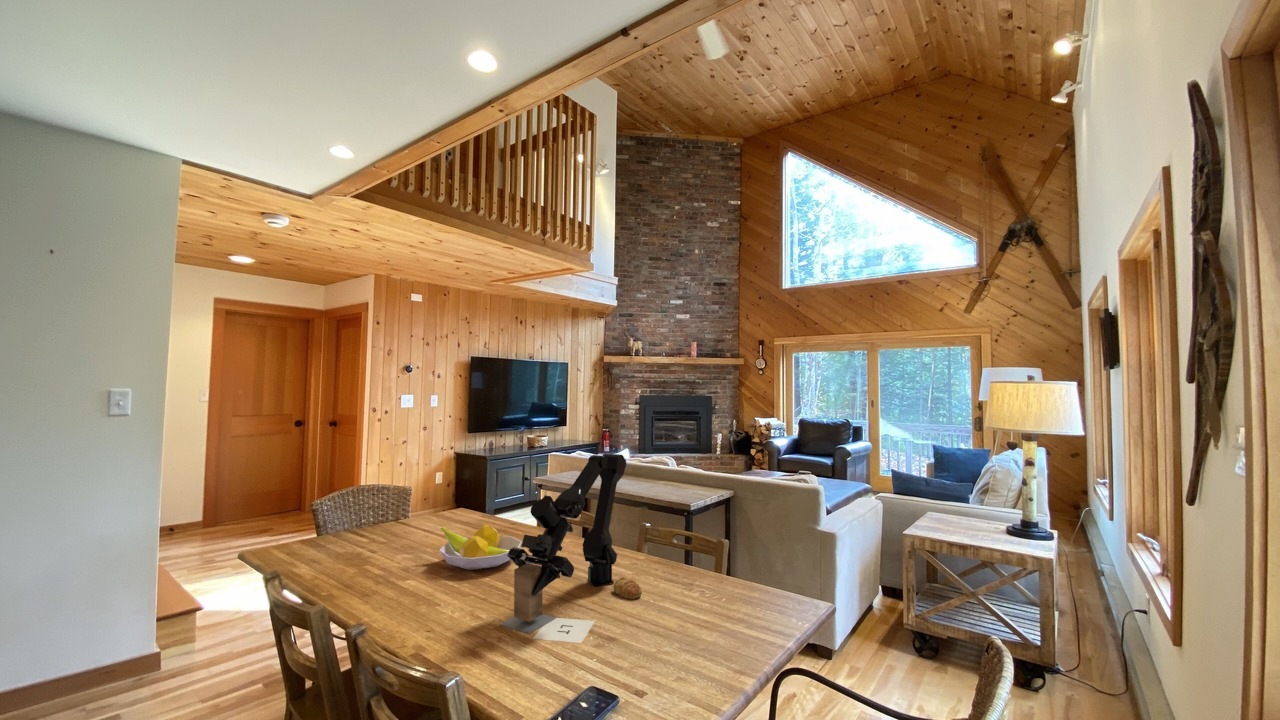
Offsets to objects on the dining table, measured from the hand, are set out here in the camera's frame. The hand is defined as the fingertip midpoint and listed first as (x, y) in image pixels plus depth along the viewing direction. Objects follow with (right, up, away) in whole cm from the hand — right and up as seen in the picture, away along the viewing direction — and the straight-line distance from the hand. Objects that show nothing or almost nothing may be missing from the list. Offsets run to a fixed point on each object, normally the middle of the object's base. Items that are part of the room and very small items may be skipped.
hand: (524, 592), depth 137 cm
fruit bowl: (-26, -11, +48) cm, 56 cm away
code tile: (+11, -8, -4) cm, 14 cm away
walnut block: (+1, -6, +1) cm, 6 cm away
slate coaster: (+1, -8, +1) cm, 8 cm away
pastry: (+26, -9, +21) cm, 34 cm away
